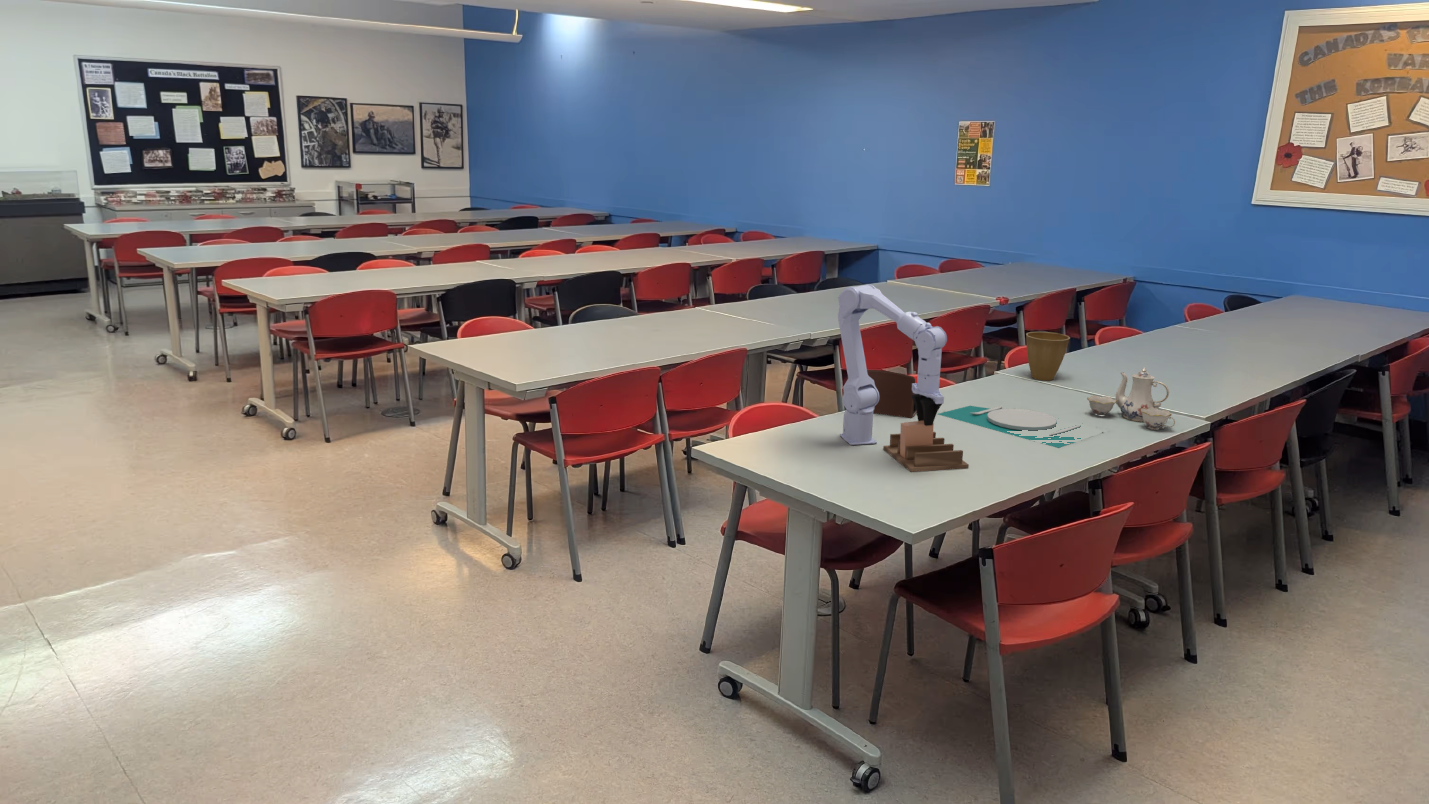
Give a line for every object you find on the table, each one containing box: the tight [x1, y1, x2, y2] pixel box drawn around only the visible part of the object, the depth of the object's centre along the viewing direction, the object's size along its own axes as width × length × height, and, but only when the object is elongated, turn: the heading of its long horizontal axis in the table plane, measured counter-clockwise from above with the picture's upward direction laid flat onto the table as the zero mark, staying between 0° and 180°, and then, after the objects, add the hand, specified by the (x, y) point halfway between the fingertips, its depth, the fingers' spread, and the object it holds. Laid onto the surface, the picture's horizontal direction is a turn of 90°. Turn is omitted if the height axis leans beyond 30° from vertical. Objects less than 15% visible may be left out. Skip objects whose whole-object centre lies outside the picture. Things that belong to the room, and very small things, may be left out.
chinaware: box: [1086, 367, 1176, 431], centre depth 282 cm, size 28×17×17 cm, turn 42°
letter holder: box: [859, 369, 917, 419], centre depth 290 cm, size 10×20×14 cm, turn 66°
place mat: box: [937, 405, 1081, 449], centre depth 280 cm, size 45×30×2 cm
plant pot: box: [1025, 331, 1071, 382], centre depth 333 cm, size 15×15×16 cm
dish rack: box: [882, 431, 970, 473], centre depth 246 cm, size 19×16×4 cm
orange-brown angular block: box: [899, 420, 935, 458], centre depth 244 cm, size 3×8×9 cm, turn 104°
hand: (925, 423), depth 244 cm, fingers closed on orange-brown angular block, 3 cm apart
